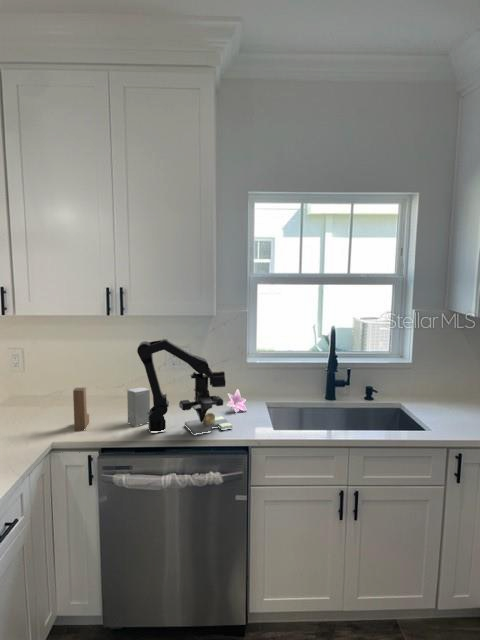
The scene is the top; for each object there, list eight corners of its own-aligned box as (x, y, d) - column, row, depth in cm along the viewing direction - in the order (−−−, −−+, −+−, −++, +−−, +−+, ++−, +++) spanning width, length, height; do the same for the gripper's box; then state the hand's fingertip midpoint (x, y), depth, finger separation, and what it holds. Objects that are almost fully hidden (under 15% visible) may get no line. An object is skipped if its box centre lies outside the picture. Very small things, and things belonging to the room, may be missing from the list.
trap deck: (193, 435, 185) (193, 431, 184) (184, 426, 195) (184, 421, 195) (232, 429, 192) (232, 425, 192) (221, 420, 203) (221, 416, 203)
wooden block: (79, 423, 196) (77, 384, 194) (89, 423, 197) (88, 384, 195) (74, 430, 188) (72, 390, 185) (85, 430, 188) (83, 390, 186)
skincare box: (135, 427, 193) (134, 392, 190) (126, 423, 197) (125, 389, 195) (151, 422, 199) (151, 389, 197) (142, 418, 204) (142, 385, 201)
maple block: (206, 425, 191) (206, 416, 191) (203, 422, 195) (203, 413, 194) (214, 424, 193) (214, 415, 192) (211, 421, 196) (211, 412, 196)
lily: (222, 416, 211) (230, 402, 207) (219, 400, 221) (226, 386, 217) (244, 421, 215) (252, 407, 211) (240, 405, 225) (248, 391, 221)
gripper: (186, 395, 179) (186, 431, 181) (228, 390, 186) (228, 425, 188) (178, 387, 189) (178, 422, 191) (218, 383, 197) (218, 416, 199)
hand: (201, 421), depth 192 cm, fingers closed
